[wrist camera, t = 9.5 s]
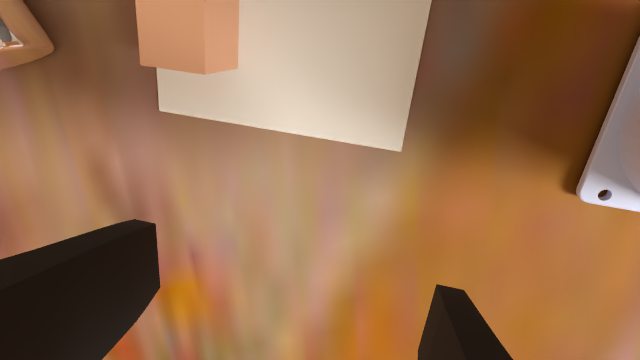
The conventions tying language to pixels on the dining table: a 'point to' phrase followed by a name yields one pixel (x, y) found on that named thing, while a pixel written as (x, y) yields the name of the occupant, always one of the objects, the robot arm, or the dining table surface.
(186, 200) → the dining table surface
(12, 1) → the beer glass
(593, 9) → the dining table surface
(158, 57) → the lid
